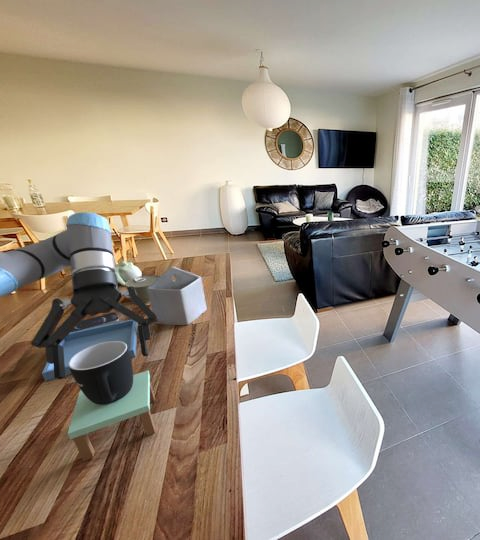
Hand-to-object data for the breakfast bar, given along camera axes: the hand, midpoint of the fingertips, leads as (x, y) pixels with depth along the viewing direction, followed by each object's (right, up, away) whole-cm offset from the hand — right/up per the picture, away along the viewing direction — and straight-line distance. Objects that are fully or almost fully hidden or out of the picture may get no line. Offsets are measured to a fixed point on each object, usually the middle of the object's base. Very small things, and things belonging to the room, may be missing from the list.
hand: (105, 365), depth 60 cm
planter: (-9, +2, +42) cm, 43 cm away
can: (-34, +9, +58) cm, 67 cm away
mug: (+2, -7, 0) cm, 7 cm away
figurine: (-53, +14, +67) cm, 86 cm away
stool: (+1, -14, +3) cm, 14 cm away
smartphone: (-38, +1, +37) cm, 53 cm away
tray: (-25, -4, +26) cm, 36 cm away
